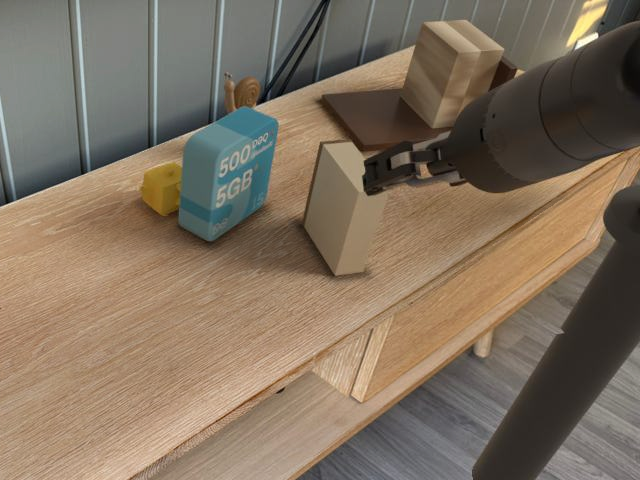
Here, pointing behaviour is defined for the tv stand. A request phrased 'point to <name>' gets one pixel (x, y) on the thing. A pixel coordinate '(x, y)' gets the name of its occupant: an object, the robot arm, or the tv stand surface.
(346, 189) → the cream book
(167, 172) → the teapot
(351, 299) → the tv stand surface
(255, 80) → the snail figurine
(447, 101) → the book rack
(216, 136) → the data package
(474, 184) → the robot arm
